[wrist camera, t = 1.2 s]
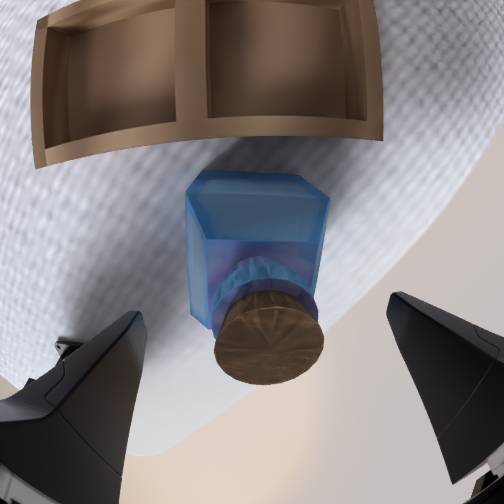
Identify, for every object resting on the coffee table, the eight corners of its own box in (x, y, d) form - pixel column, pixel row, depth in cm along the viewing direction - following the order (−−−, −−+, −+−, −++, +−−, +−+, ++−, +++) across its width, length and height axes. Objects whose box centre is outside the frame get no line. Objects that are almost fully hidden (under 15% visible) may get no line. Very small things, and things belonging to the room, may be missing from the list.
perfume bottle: (298, 175, 18) (397, 254, 7) (289, 262, 20) (342, 402, 9) (201, 171, 17) (146, 248, 6) (201, 260, 20) (174, 407, 9)
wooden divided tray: (68, 159, 16) (35, 169, 12) (67, 33, 12) (37, 20, 8) (353, 137, 17) (383, 141, 13) (346, 6, 12) (370, -16, 9)
